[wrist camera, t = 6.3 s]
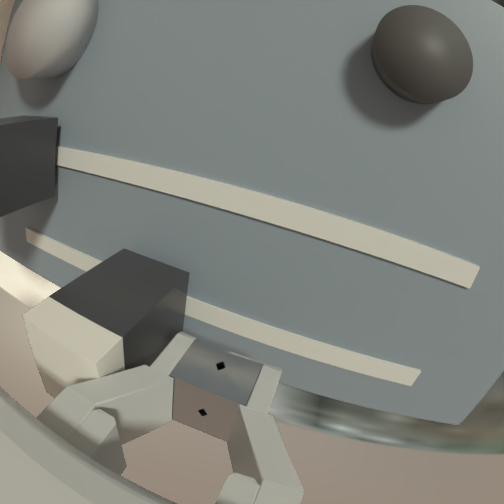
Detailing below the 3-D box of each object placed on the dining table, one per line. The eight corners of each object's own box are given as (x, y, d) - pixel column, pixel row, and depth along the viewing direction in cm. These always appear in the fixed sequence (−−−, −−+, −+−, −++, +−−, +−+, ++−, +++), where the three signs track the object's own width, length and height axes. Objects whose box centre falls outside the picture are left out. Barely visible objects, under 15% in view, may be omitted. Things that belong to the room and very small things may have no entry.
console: (23, 237, 15) (-21, 259, 12) (45, -3, 9) (-5, -11, 6) (451, 392, 11) (463, 452, 8) (574, 87, 5) (630, 85, 2)
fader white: (124, 318, 11) (46, 392, 7) (124, 248, 10) (22, 315, 6) (181, 344, 11) (111, 435, 7) (189, 272, 10) (96, 363, 6)
